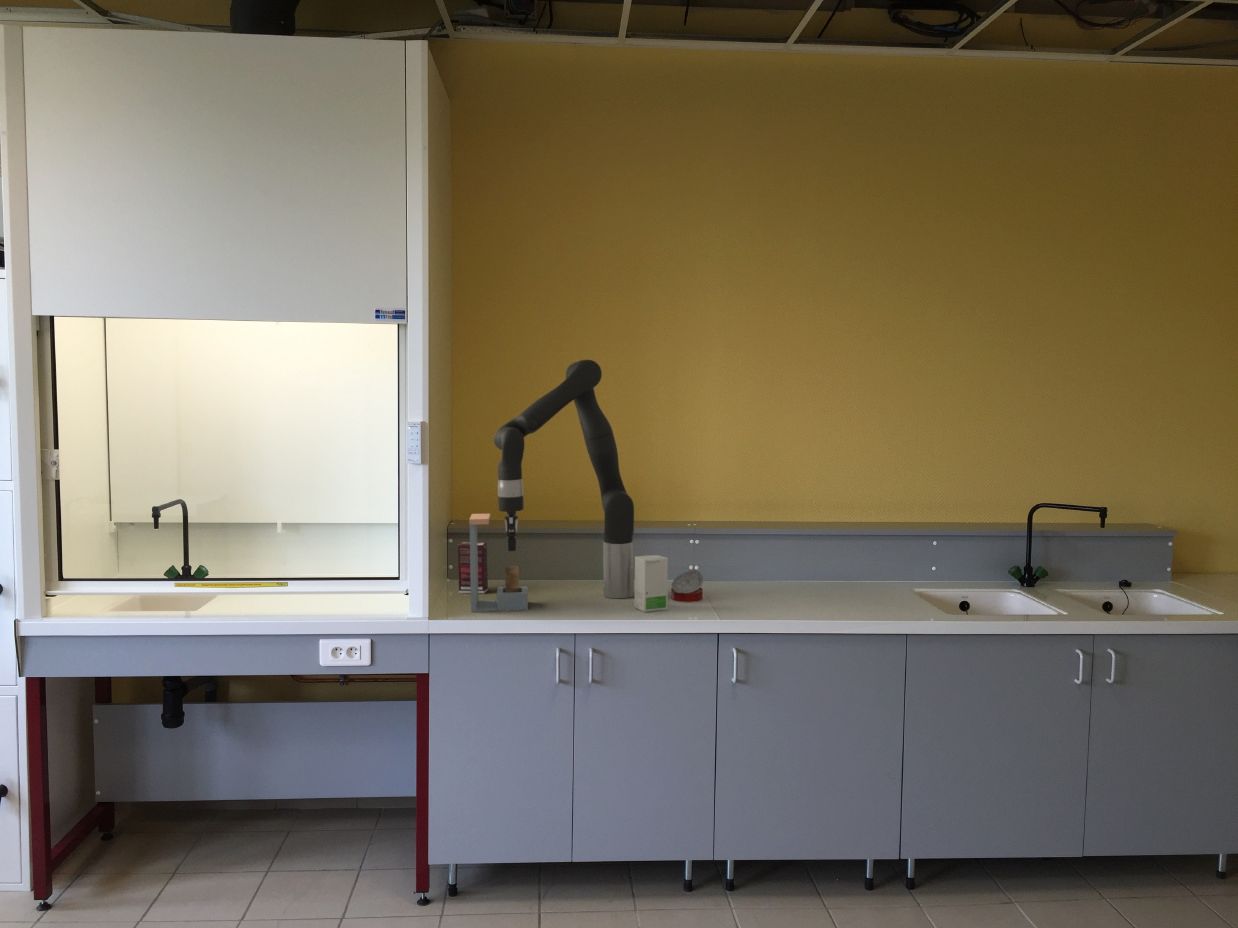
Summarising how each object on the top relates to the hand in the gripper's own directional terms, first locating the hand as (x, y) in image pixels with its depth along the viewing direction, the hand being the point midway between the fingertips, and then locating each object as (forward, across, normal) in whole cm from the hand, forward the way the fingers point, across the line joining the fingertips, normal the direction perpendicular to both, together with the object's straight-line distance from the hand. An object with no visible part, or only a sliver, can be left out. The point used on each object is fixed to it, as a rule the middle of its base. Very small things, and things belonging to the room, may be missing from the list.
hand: (512, 548), depth 245 cm
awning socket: (+18, 0, +4) cm, 18 cm away
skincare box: (+19, -7, -40) cm, 45 cm away
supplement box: (+18, +20, +13) cm, 30 cm away
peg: (+18, 0, 0) cm, 18 cm away
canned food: (+19, +4, -54) cm, 57 cm away
